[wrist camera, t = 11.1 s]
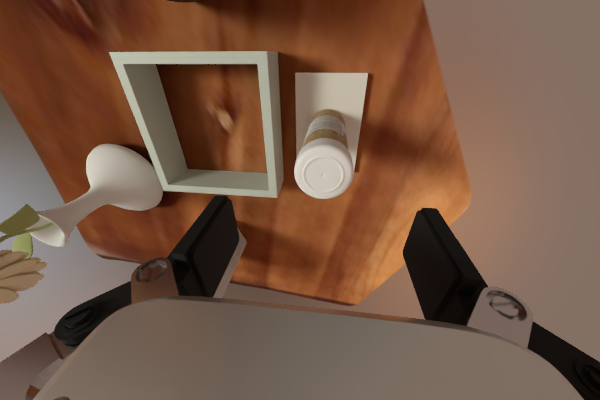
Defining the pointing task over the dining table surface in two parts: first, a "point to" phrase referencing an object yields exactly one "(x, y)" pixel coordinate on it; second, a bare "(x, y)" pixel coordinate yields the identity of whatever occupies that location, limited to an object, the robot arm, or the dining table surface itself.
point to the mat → (330, 102)
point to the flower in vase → (75, 212)
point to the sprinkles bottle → (324, 157)
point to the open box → (162, 134)
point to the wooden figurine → (184, 0)
